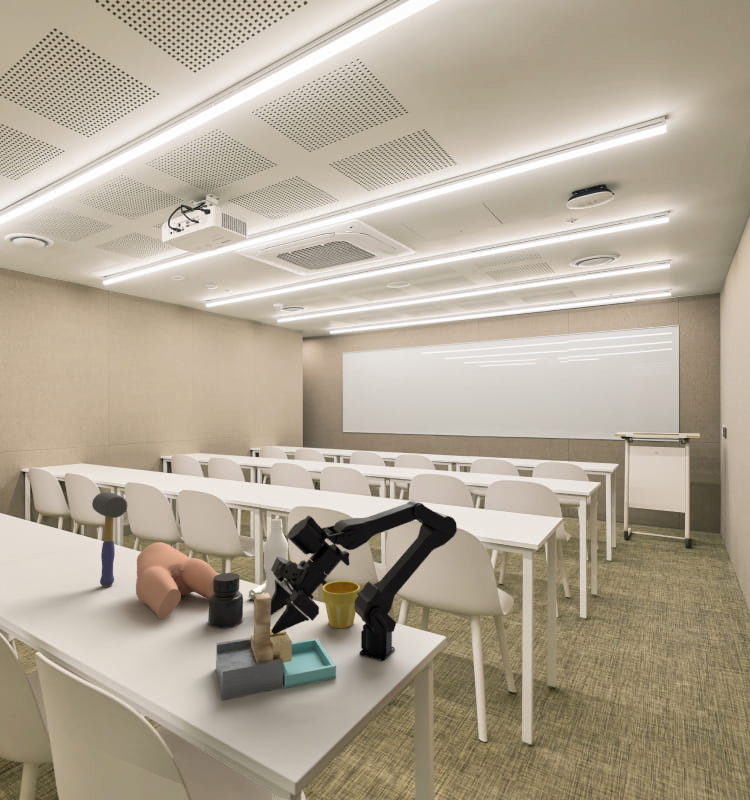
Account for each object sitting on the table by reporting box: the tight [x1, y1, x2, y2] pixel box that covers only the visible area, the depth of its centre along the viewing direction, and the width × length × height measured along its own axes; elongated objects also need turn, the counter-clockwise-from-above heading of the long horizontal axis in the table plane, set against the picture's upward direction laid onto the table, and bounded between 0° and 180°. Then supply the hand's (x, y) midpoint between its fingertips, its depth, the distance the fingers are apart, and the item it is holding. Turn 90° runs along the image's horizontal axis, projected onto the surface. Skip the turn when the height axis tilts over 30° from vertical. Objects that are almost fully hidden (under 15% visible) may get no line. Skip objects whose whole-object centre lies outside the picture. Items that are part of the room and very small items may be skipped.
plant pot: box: [321, 580, 361, 629], centre depth 131 cm, size 10×10×10 cm
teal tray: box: [283, 638, 337, 689], centre depth 108 cm, size 11×14×2 cm
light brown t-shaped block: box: [250, 593, 273, 663], centre depth 105 cm, size 3×9×12 cm, turn 23°
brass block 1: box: [270, 626, 288, 637], centre depth 108 cm, size 4×4×4 cm
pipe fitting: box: [248, 579, 266, 601], centre depth 150 cm, size 8×4×7 cm
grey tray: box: [215, 637, 284, 701], centre depth 103 cm, size 12×13×6 cm
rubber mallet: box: [91, 491, 128, 588], centre depth 158 cm, size 12×8×30 cm, turn 48°
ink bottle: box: [207, 572, 244, 628], centre depth 132 cm, size 10×9×12 cm
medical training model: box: [135, 541, 219, 620], centre depth 146 cm, size 21×25×13 cm
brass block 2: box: [270, 633, 293, 663], centre depth 104 cm, size 4×4×4 cm
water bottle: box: [263, 518, 289, 598], centre depth 144 cm, size 7×7×25 cm
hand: (268, 624), depth 105 cm, fingers open, 9 cm apart
